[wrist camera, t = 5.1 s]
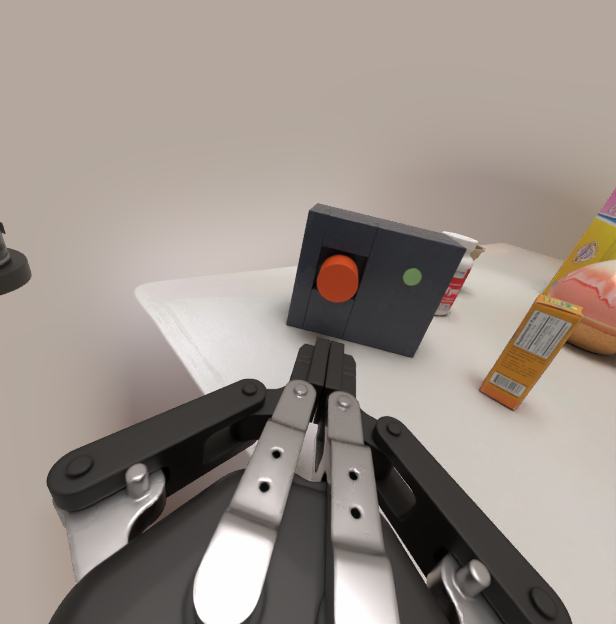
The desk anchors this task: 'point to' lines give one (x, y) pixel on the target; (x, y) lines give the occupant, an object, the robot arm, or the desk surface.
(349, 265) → the knob
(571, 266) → the game box
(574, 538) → the desk surface
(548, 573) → the desk surface
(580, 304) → the vase
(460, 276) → the pill bottle
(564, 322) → the supplement box
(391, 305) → the control box
